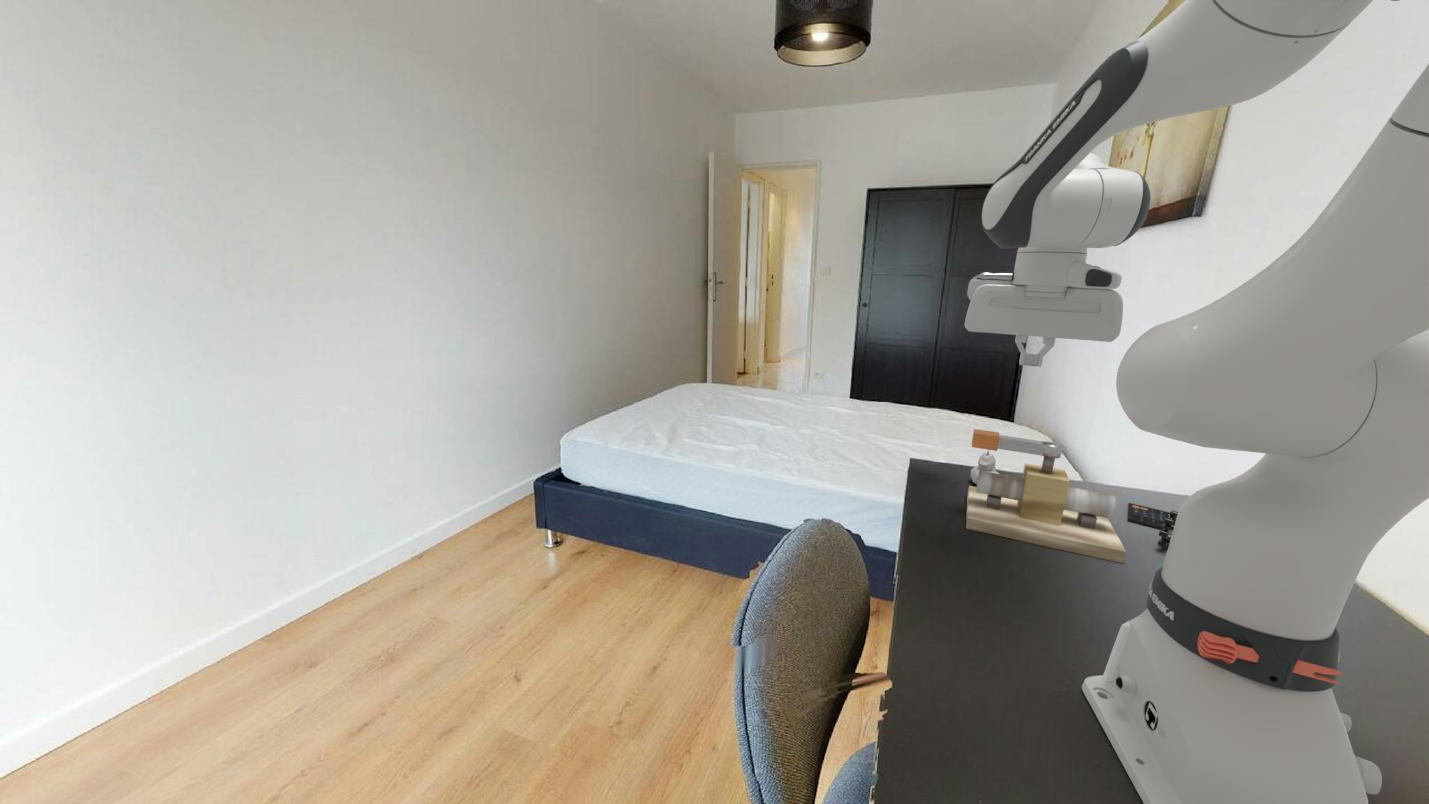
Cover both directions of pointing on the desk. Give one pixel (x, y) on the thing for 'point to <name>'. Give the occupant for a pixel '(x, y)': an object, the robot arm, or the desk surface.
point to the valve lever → (1015, 444)
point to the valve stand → (1045, 511)
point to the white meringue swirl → (984, 466)
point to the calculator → (1147, 516)
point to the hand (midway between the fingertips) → (1029, 365)
